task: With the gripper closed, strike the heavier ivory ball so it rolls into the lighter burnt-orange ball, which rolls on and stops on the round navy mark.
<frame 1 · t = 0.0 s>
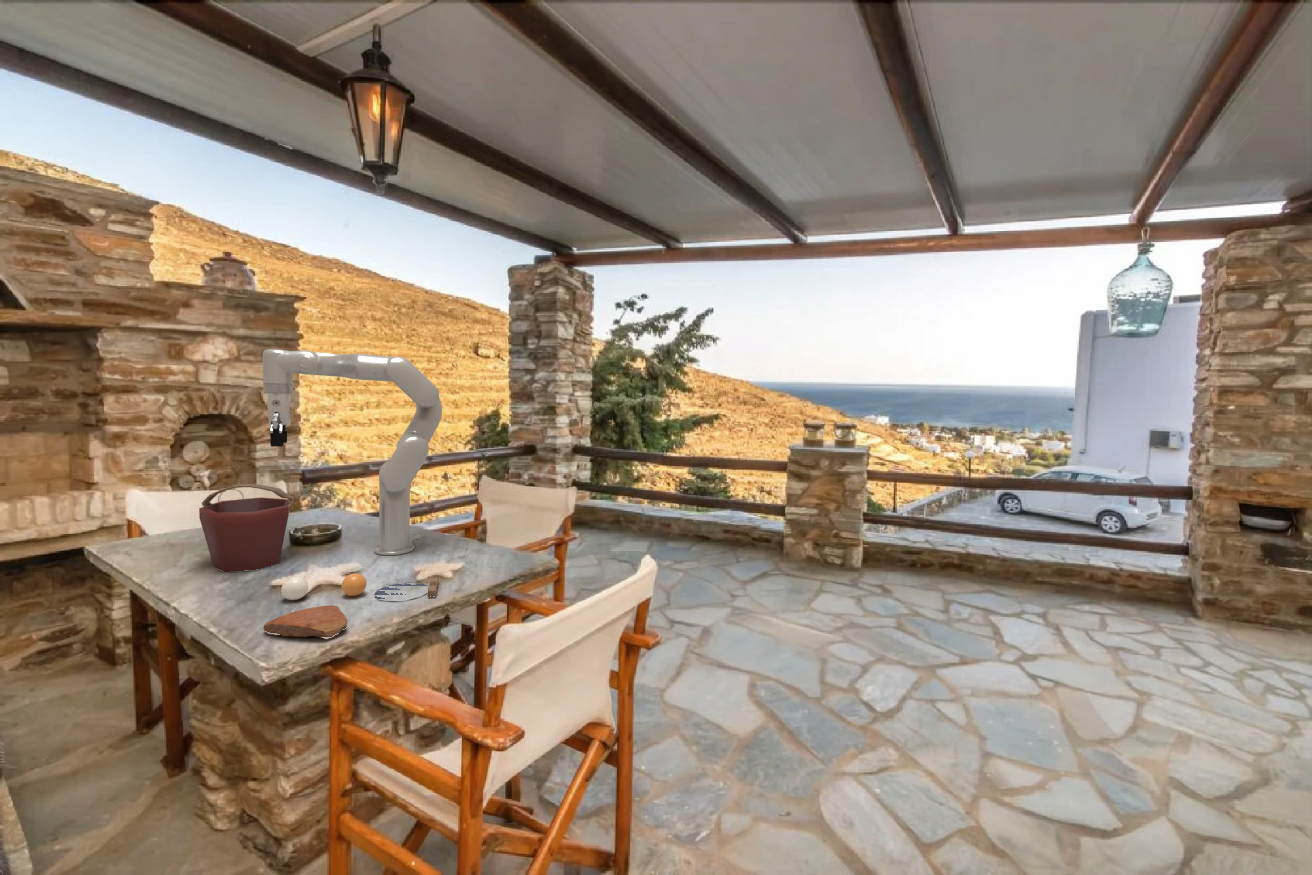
hand: (279, 444, 170), 37 cm above the table, tool pointing down, fingers open, 9 cm apart
bucket: (248, 564, 169), on the table
object ball: (354, 584, 148), on the table
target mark: (402, 592, 152), on the table
stopper rail: (433, 590, 154), on the table
ceramic shard: (310, 634, 126), on the table
cue ball: (294, 588, 144), on the table
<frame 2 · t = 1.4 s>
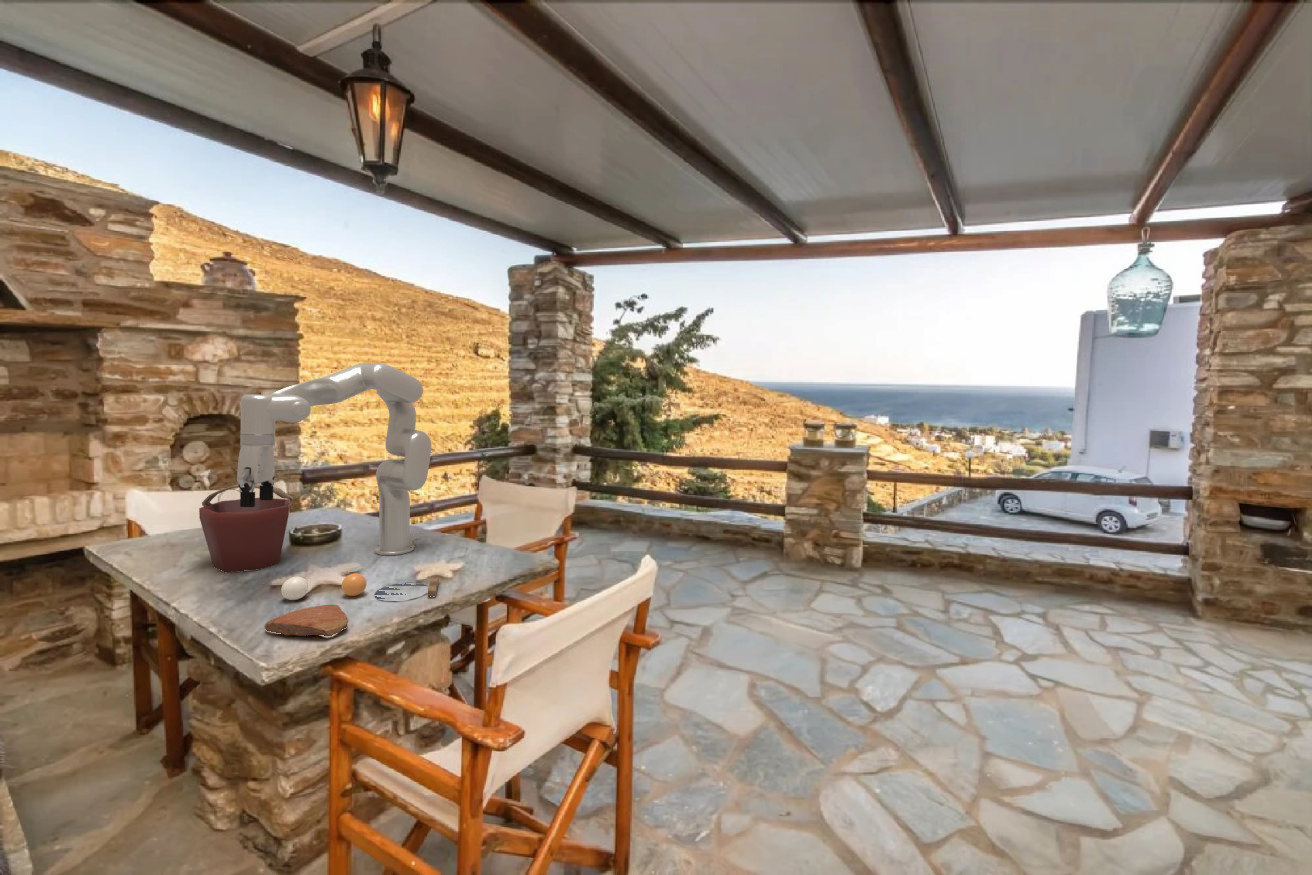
hand: (257, 503, 147), 24 cm above the table, tool pointing down, fingers open, 9 cm apart
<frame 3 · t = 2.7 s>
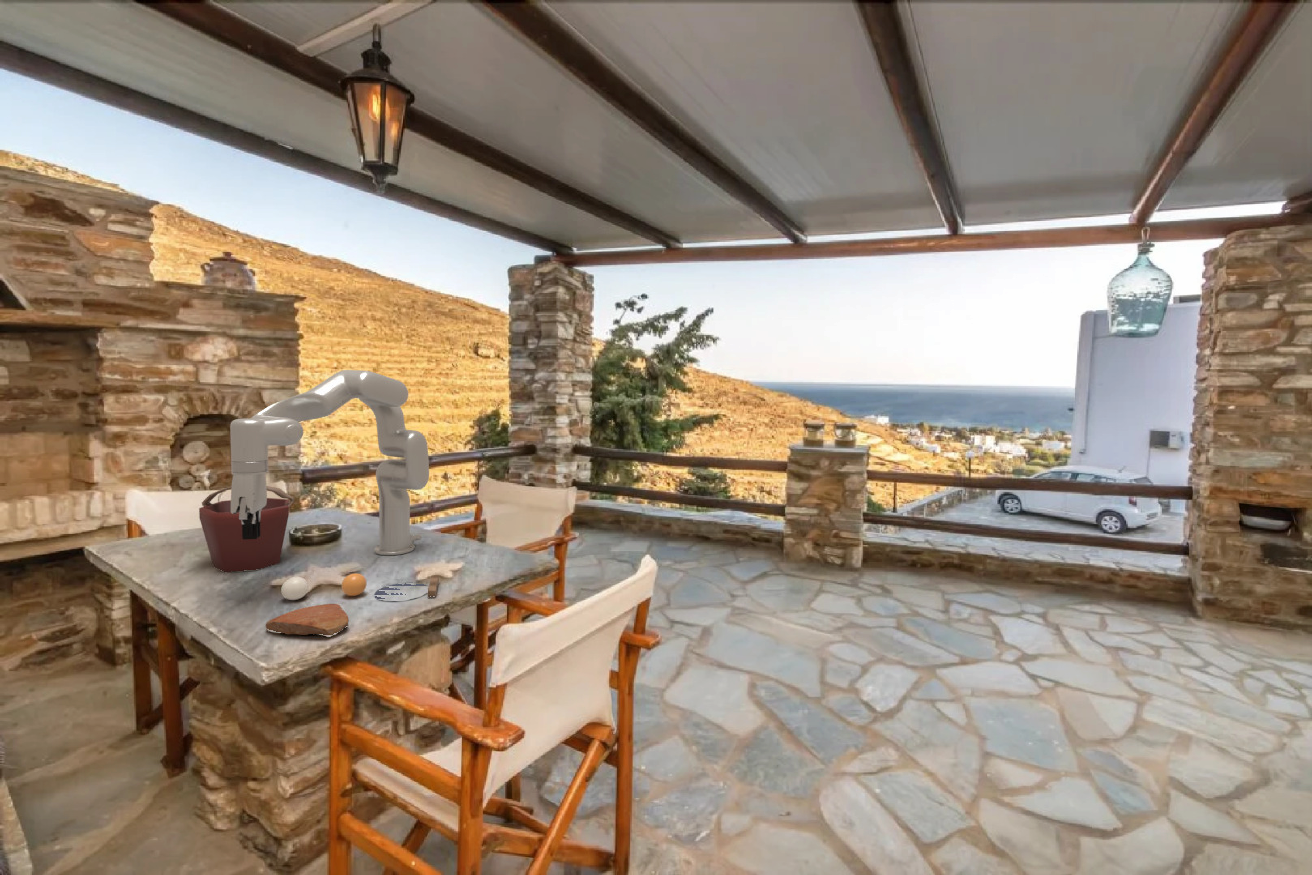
hand: (251, 537, 140), 17 cm above the table, tool pointing down, fingers closed
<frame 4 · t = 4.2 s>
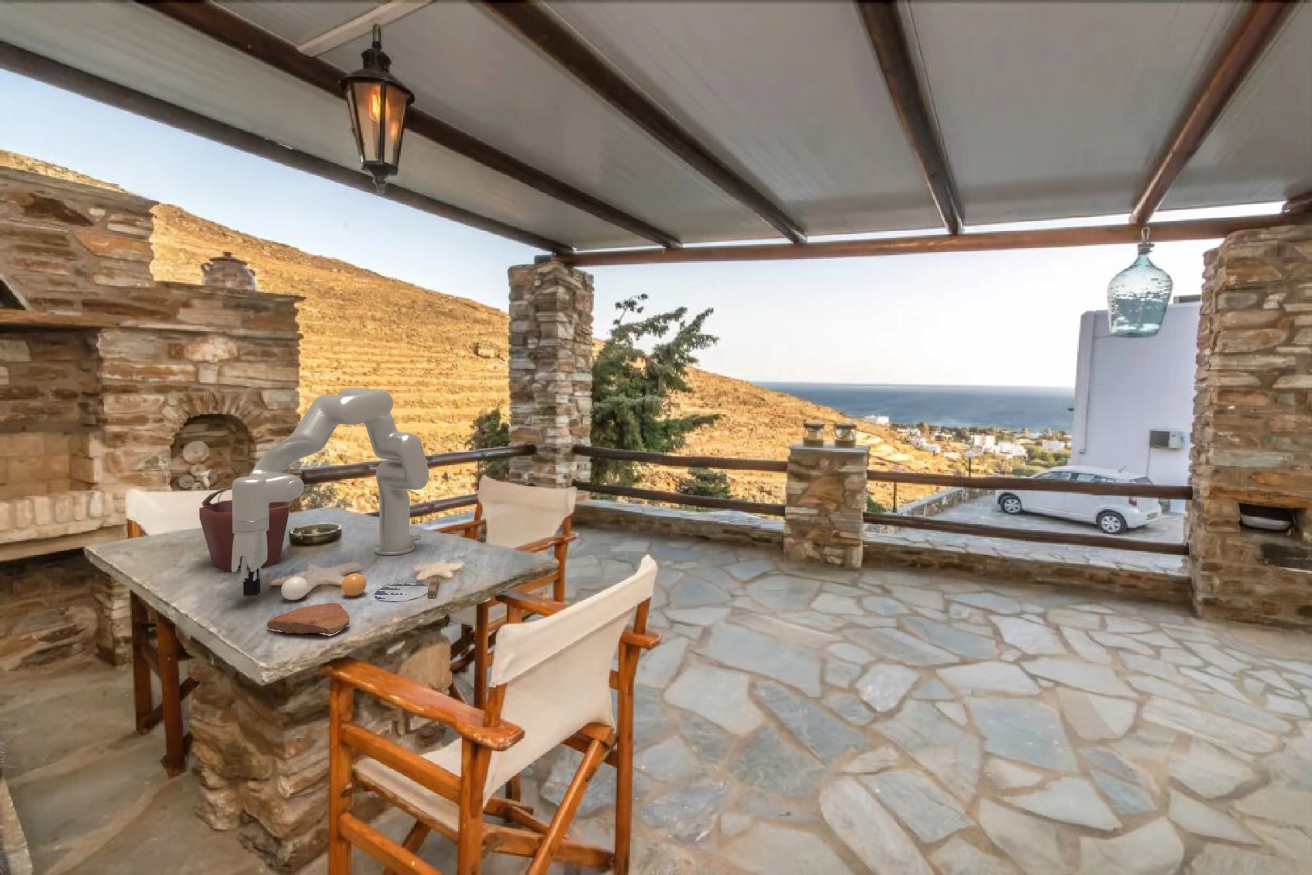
hand: (252, 594, 141), 2 cm above the table, tool pointing down, fingers closed
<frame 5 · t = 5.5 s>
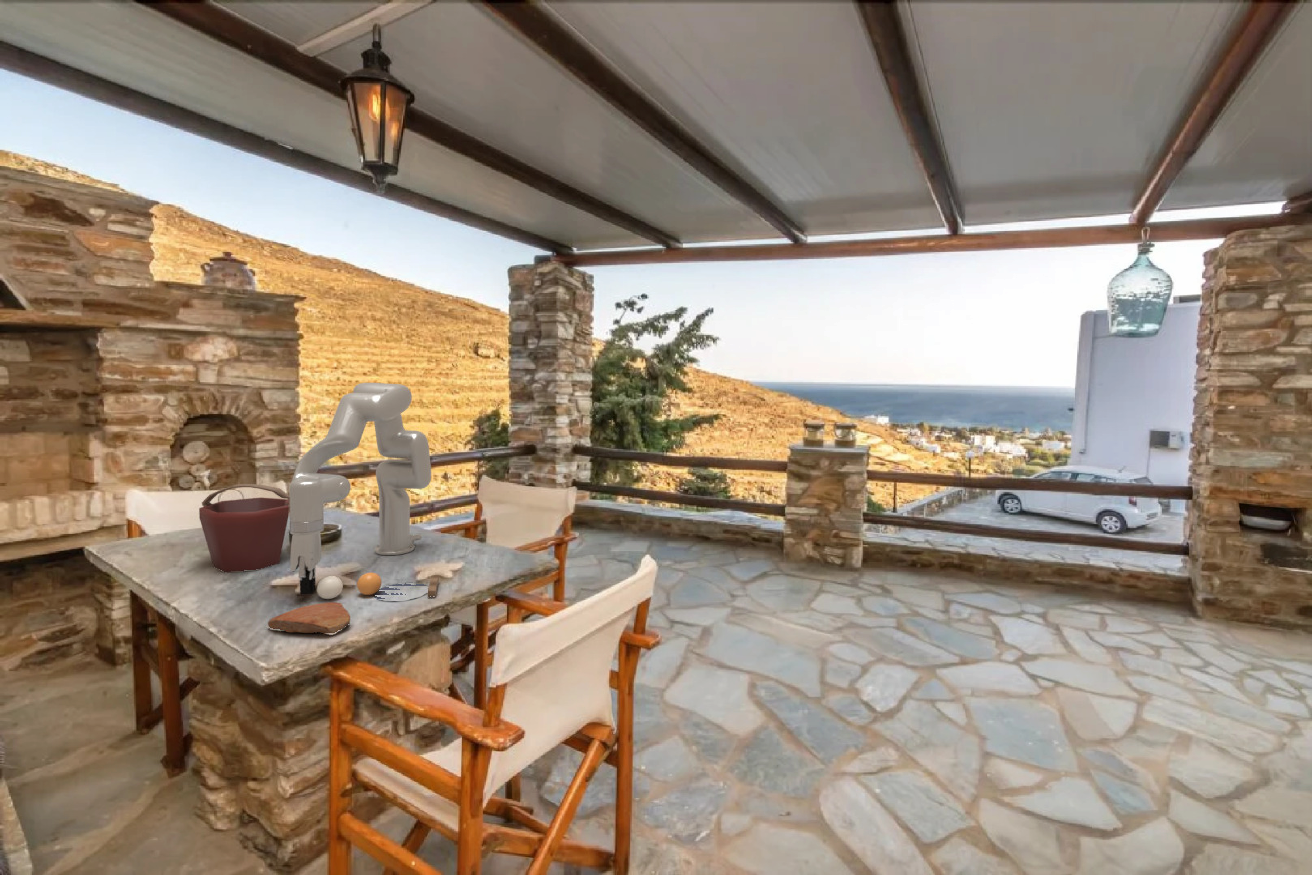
hand: (307, 592, 145), 1 cm above the table, tool pointing down, fingers closed
object ball: (369, 583, 149), on the table
cue ball: (329, 587, 145), on the table
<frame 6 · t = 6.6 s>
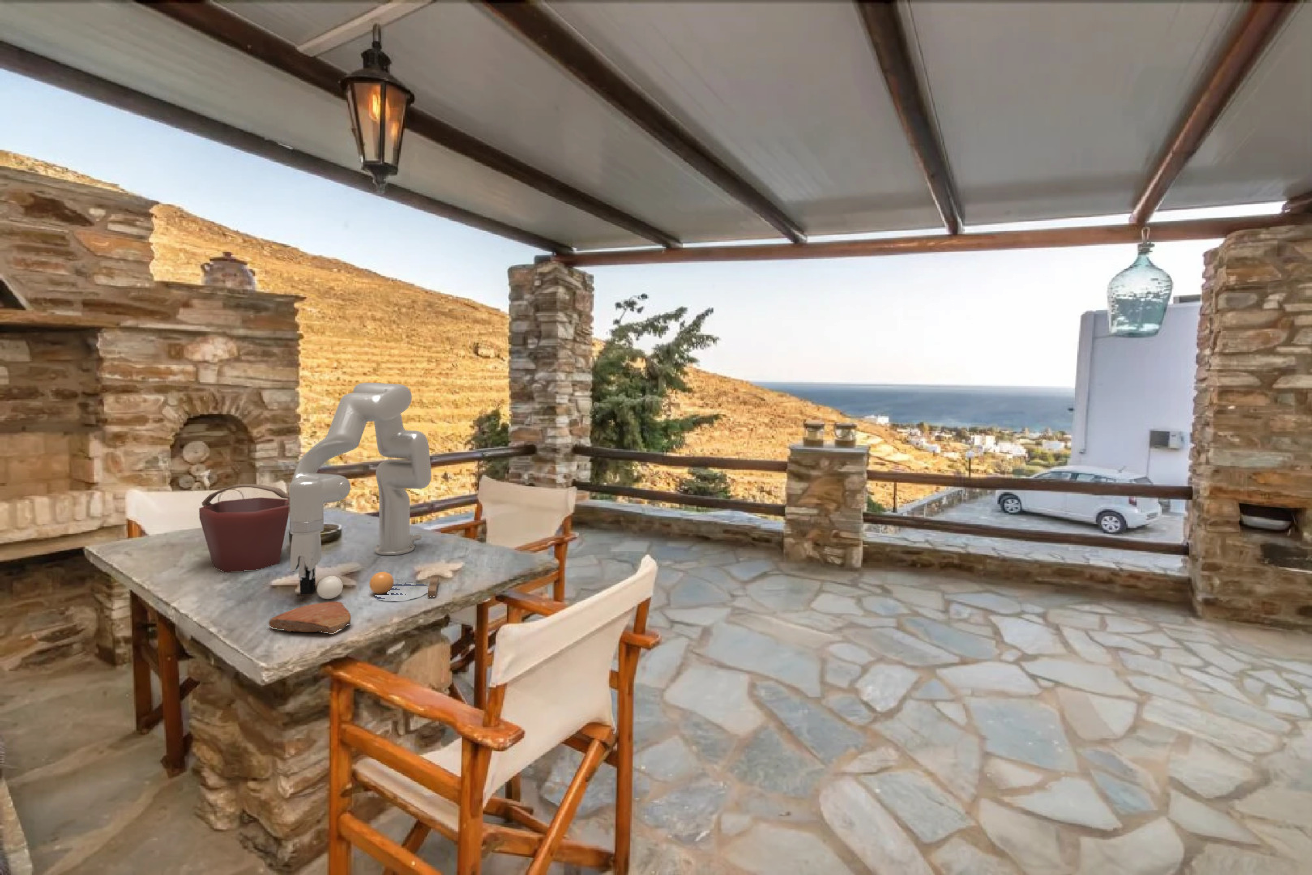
hand: (307, 592, 145), 2 cm above the table, tool pointing down, fingers closed
object ball: (381, 582, 150), on the table
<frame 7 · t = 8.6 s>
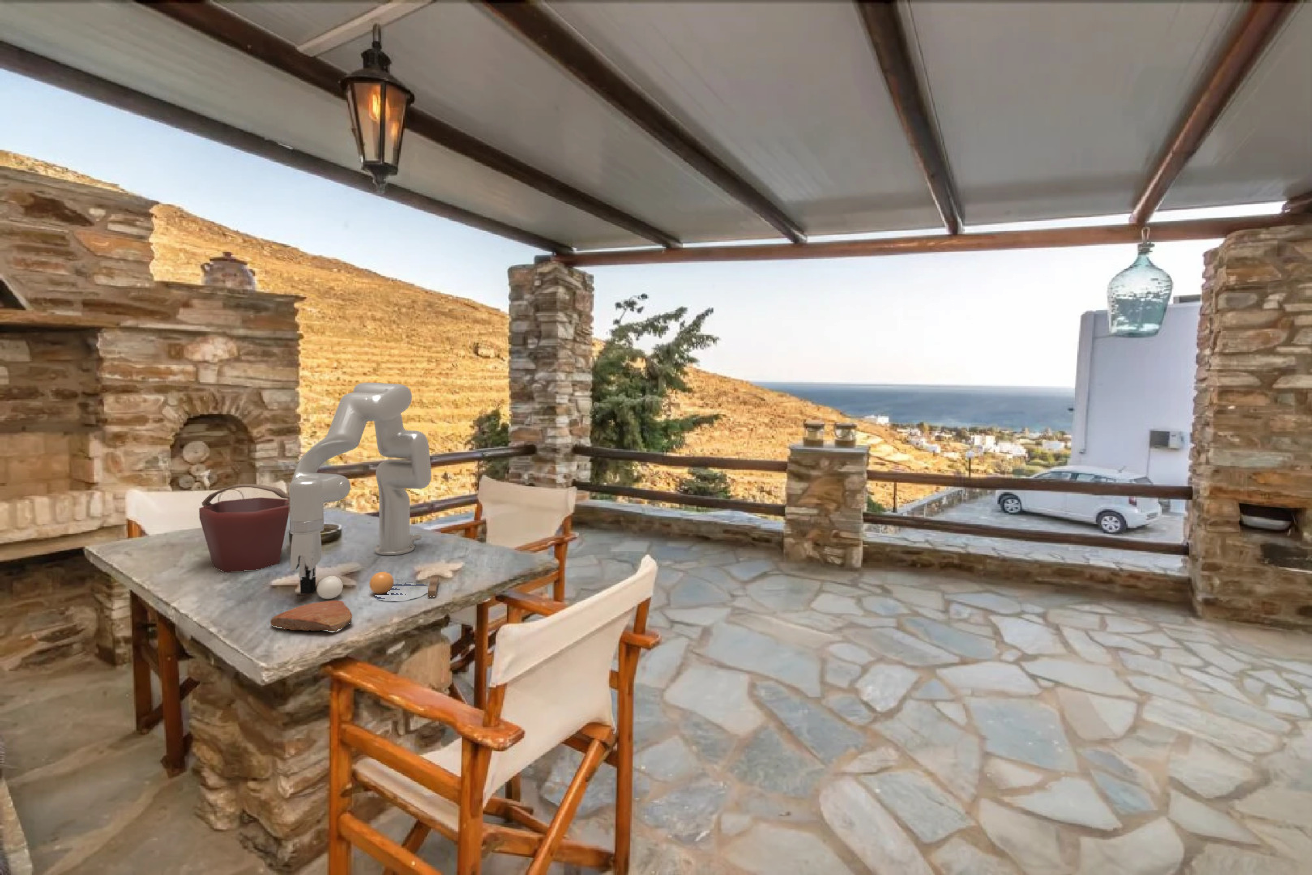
hand: (308, 592, 145), 2 cm above the table, tool pointing down, fingers closed
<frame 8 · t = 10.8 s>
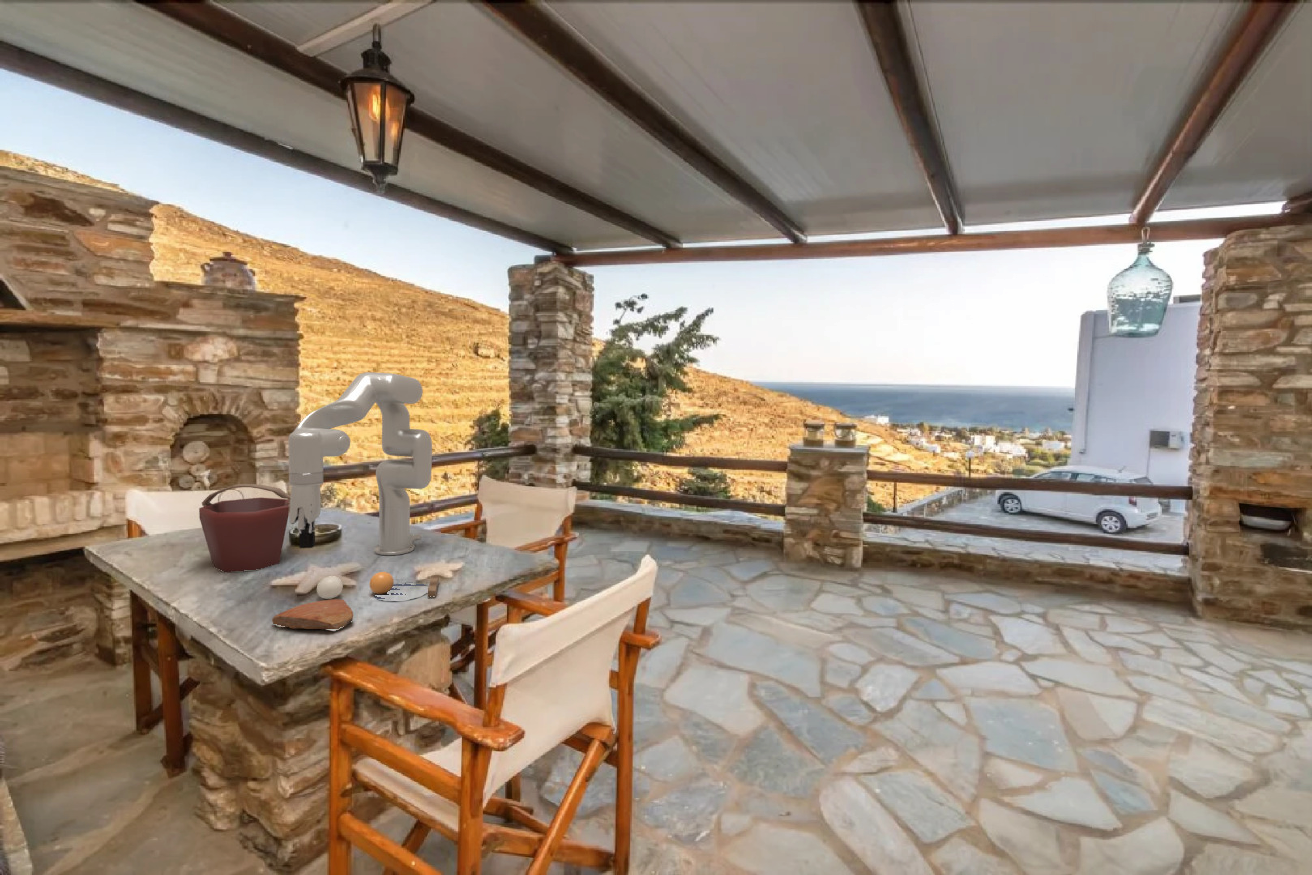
hand: (307, 546, 144), 14 cm above the table, tool pointing down, fingers closed
at the end: object ball 5.3 cm from the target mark (horizontally); object ball never touched the robot; cue ball first touched object ball at 5.0 s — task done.
